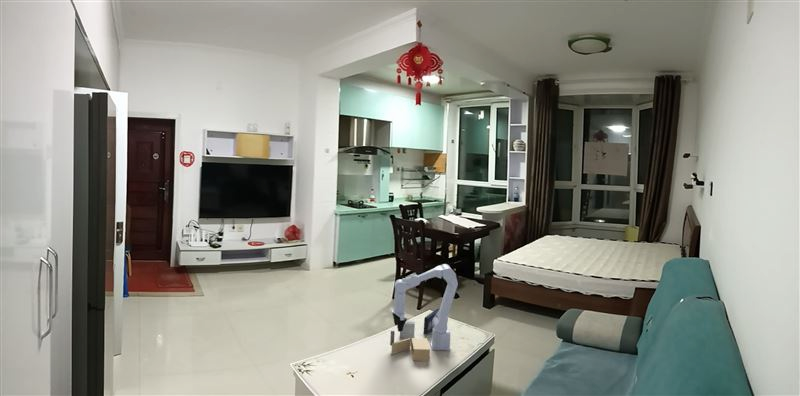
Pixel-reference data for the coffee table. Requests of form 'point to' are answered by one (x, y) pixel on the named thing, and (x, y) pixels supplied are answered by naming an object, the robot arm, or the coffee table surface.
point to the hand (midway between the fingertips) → (398, 328)
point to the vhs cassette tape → (429, 322)
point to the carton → (420, 349)
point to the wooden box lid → (399, 344)
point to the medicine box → (408, 330)
